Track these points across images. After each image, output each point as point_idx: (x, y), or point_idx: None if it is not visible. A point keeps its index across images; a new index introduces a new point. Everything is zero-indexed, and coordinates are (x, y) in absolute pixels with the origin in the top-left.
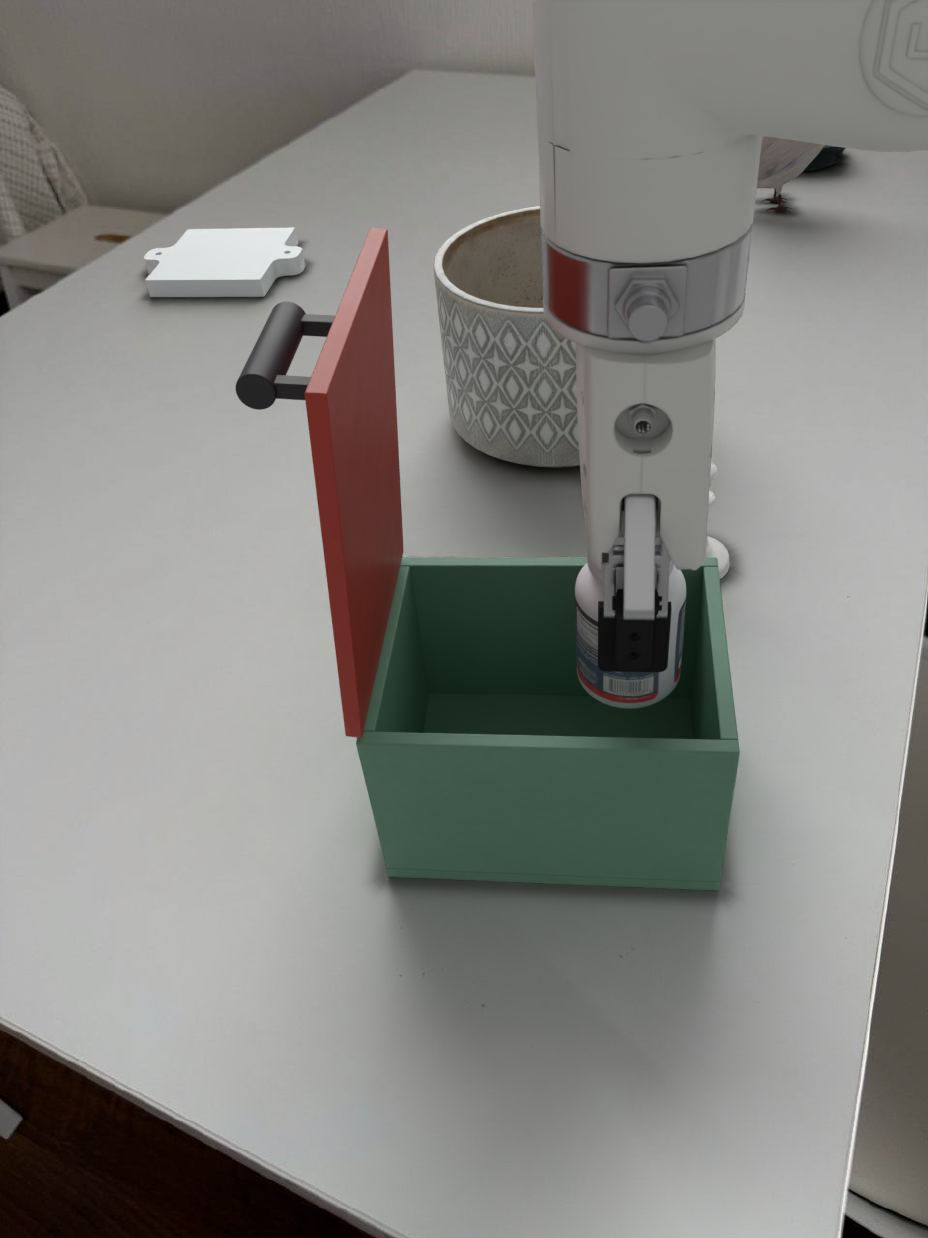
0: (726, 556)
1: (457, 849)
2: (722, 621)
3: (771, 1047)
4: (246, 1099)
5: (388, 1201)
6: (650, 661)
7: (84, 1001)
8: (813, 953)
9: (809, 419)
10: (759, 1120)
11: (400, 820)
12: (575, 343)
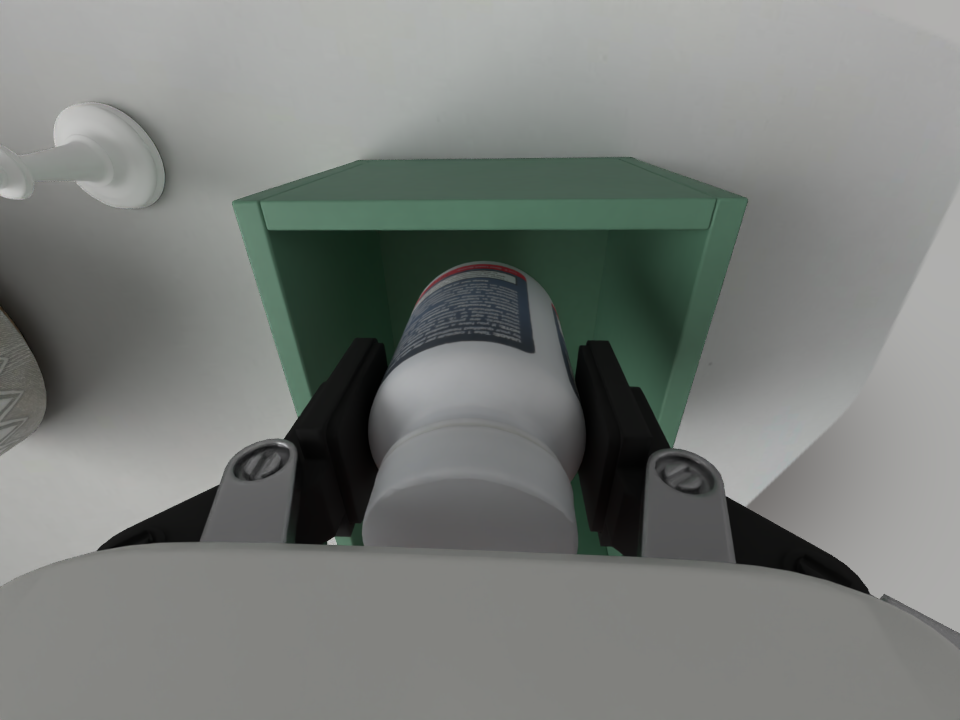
0: (85, 109)
1: None
2: (417, 204)
3: (819, 111)
4: (742, 485)
5: (837, 408)
6: (641, 392)
7: None
8: (726, 44)
9: None
10: (886, 132)
11: None
12: None
